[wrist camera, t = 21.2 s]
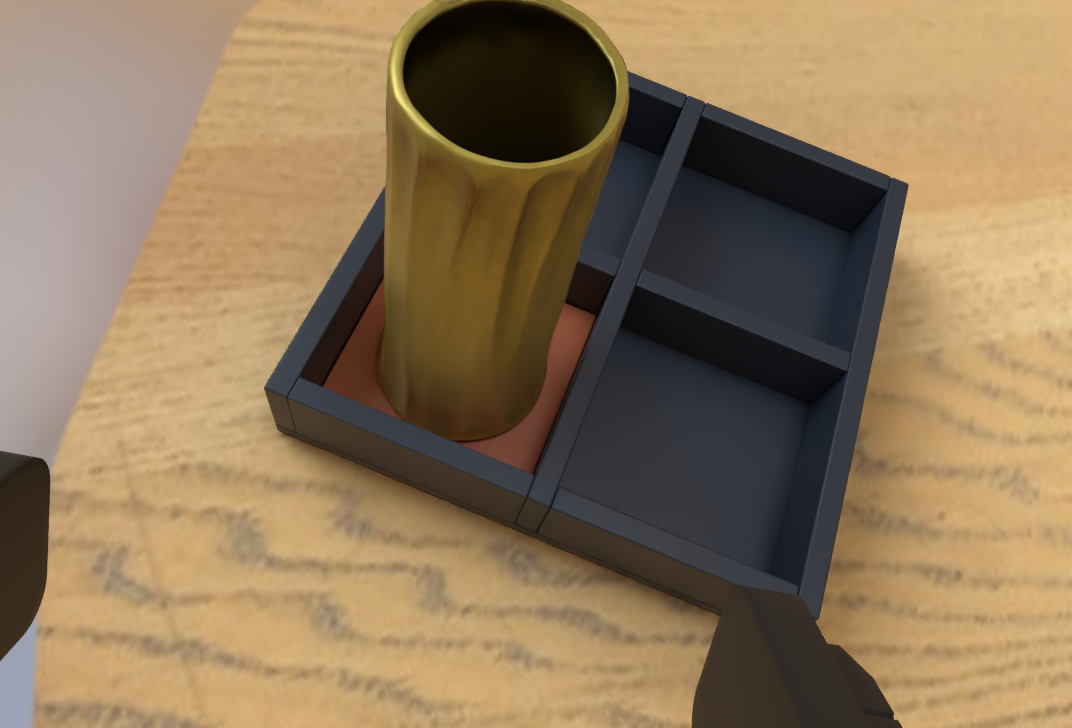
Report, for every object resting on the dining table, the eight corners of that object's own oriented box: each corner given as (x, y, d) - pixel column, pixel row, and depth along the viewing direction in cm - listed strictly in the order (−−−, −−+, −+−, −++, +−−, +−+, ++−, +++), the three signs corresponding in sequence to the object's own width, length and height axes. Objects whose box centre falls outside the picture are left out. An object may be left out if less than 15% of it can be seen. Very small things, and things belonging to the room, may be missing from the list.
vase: (549, 301, 32) (650, -7, 20) (541, 451, 30) (653, 209, 17) (387, 281, 32) (385, -51, 19) (365, 434, 29) (343, 166, 16)
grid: (276, 430, 29) (263, 387, 26) (479, 78, 38) (488, 14, 35) (772, 638, 29) (819, 620, 26) (865, 234, 37) (910, 183, 34)
